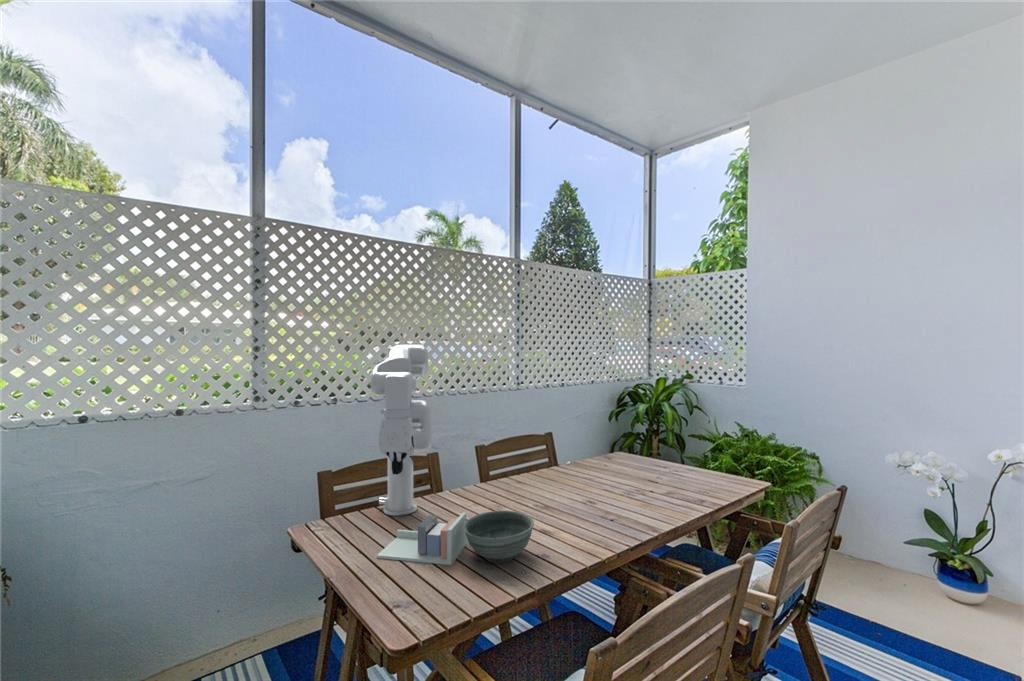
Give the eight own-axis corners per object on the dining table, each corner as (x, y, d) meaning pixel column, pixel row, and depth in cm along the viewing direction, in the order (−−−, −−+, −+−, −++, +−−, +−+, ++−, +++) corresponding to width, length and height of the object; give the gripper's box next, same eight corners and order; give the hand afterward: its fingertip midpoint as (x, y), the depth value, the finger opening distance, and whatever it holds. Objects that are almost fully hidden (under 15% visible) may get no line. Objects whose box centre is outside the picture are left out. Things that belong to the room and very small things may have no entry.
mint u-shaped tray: (376, 558, 130) (376, 524, 130) (398, 538, 143) (398, 507, 144) (451, 565, 125) (451, 530, 125) (466, 544, 139) (466, 512, 139)
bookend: (417, 553, 130) (417, 526, 130) (429, 541, 139) (429, 515, 139) (425, 554, 129) (425, 526, 129) (437, 541, 138) (437, 515, 138)
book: (426, 555, 129) (426, 534, 129) (437, 542, 138) (437, 522, 138) (439, 556, 128) (439, 535, 129) (450, 543, 137) (450, 523, 137)
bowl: (544, 567, 123) (544, 531, 124) (471, 578, 117) (470, 540, 118) (521, 537, 143) (521, 506, 144) (458, 546, 137) (457, 513, 138)
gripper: (368, 415, 135) (369, 475, 135) (414, 416, 132) (414, 478, 132) (381, 411, 142) (381, 468, 142) (424, 412, 139) (424, 471, 139)
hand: (397, 473), depth 137 cm, fingers closed
